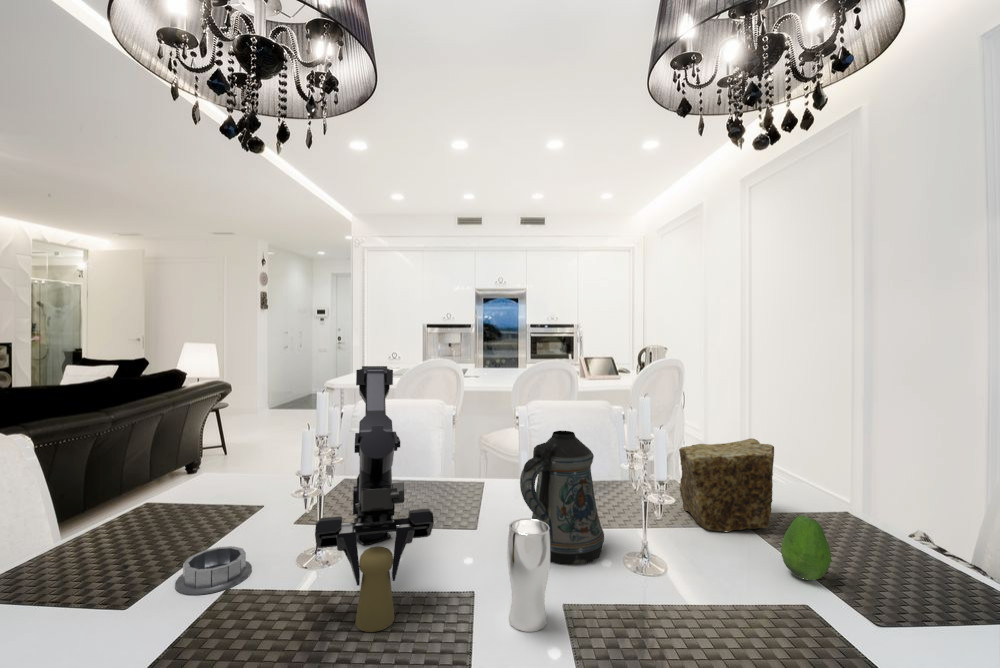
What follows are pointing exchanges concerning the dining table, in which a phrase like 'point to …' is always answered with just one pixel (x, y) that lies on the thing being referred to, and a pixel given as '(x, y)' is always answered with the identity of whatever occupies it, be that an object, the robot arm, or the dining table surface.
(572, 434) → the beer stein
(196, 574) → the duct collar
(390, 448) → the robot arm
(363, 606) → the olive game pawn
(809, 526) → the avocado
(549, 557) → the beer glass
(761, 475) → the decorative stone
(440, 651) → the dining table surface
